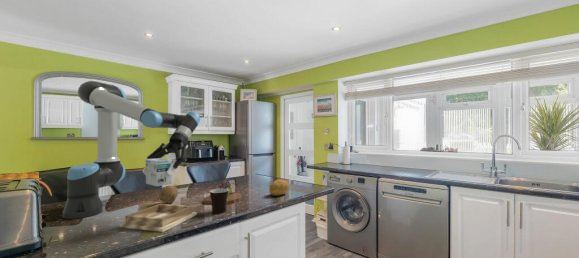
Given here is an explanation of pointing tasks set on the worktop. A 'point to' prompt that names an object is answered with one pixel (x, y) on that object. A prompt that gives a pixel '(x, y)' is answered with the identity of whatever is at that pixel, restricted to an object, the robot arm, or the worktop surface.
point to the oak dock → (158, 217)
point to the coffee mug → (219, 200)
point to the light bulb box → (158, 171)
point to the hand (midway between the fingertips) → (156, 173)
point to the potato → (278, 187)
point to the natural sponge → (168, 194)
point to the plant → (232, 196)
